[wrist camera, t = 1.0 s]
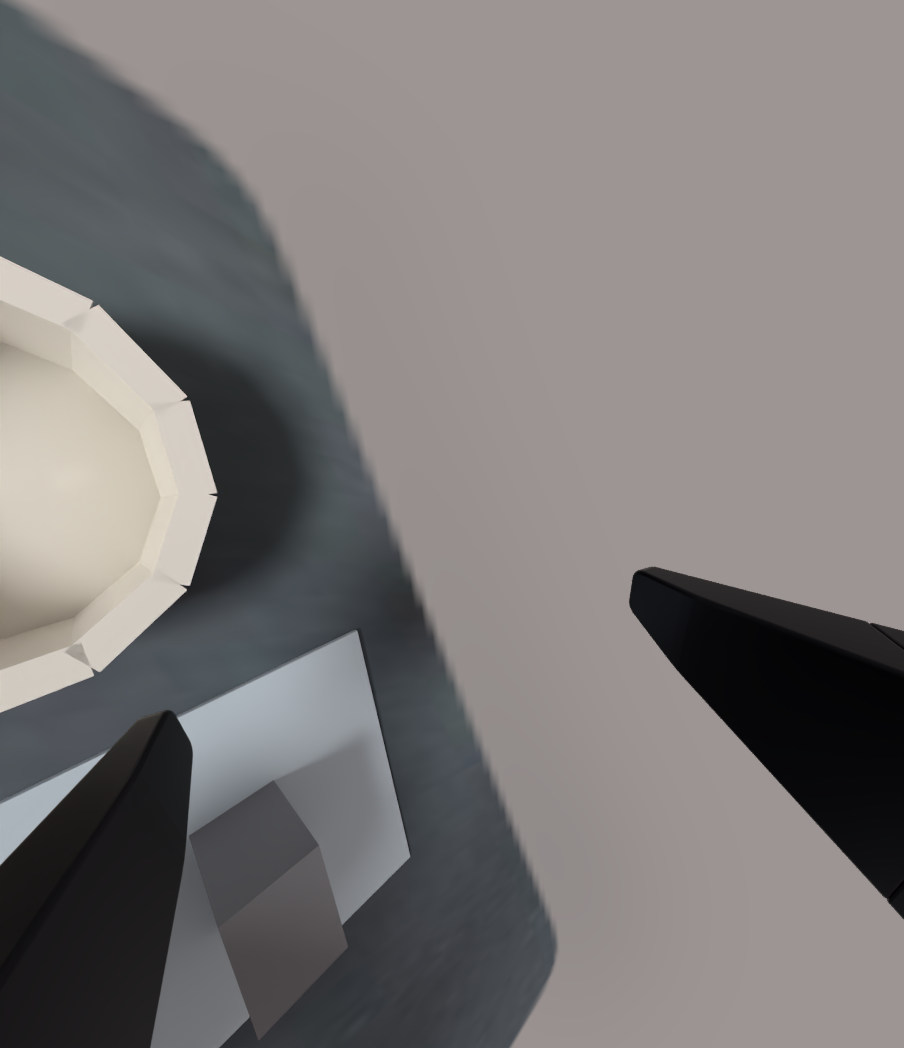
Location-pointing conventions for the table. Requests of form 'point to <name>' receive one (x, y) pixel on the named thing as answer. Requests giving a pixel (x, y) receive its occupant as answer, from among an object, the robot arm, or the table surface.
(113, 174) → the table surface
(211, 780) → the lid
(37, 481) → the bowl
